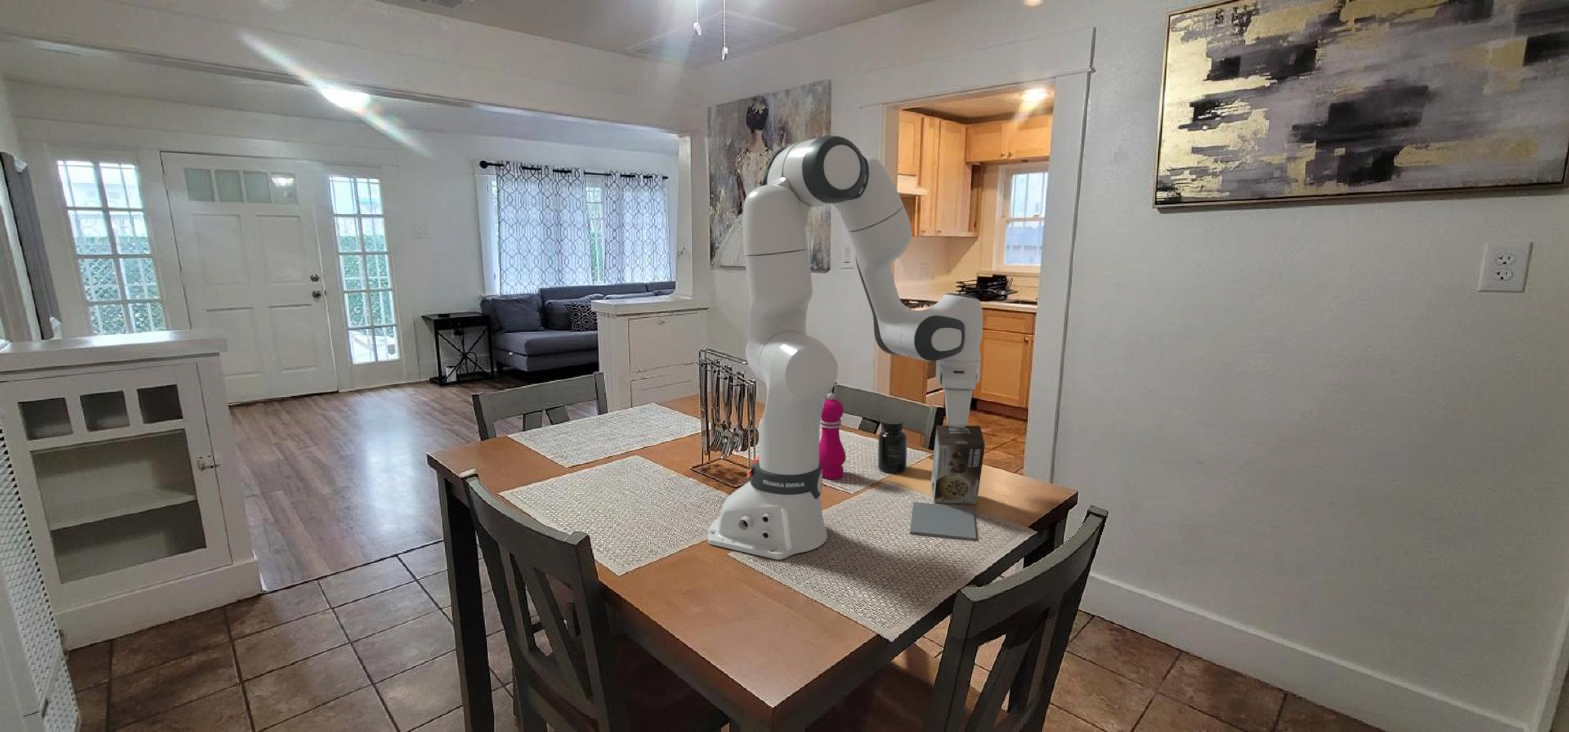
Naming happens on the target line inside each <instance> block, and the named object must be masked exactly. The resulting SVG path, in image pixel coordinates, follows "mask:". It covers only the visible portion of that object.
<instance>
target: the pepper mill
mask: <svg viewBox="0 0 1569 732" xmlns="http://www.w3.org/2000/svg"><path fill="white" fill-rule="evenodd" d="M844 411H845V409H844V405H843V404H842V402H841V401H839V400H838V399H836V397H835V394H834V393H833V392H829V393H828V394H827V395H826V399H825V402H824V406H823V410H822V415H821V420H820V427H821V437H820V439H819V462H820V464H821V472H822V479H826V480H836V479H841V478H842V477H843V476H844V466H843V465H844V463H845V462H846V460H847V459H846V458H847V456H846V450H845V448H844V446H843V444H842V442H841V437H840V428H841V426H842V419H841V418H842V417H843V415H844Z"/></svg>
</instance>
